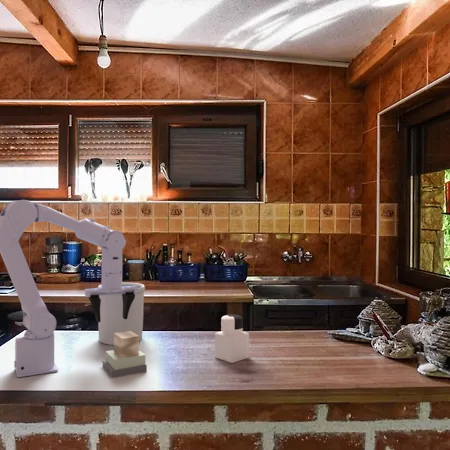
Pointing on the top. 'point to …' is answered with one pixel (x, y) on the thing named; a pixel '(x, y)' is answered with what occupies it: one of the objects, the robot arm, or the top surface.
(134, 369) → the tower base
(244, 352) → the medicine bottle
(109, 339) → the utensil holder
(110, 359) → the tower top
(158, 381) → the top surface
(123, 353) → the birch block
